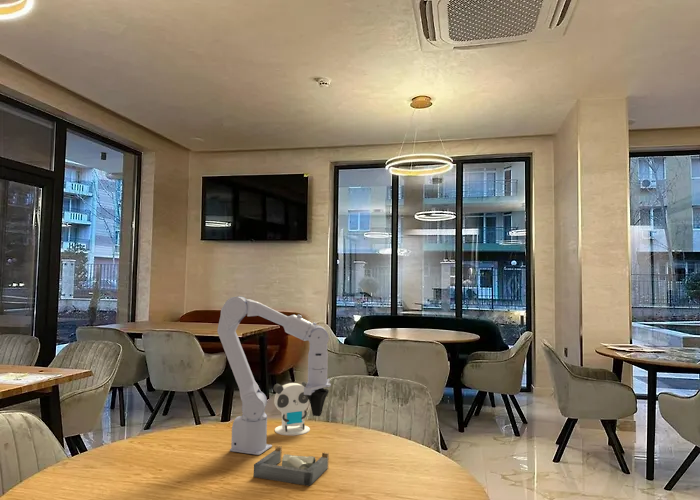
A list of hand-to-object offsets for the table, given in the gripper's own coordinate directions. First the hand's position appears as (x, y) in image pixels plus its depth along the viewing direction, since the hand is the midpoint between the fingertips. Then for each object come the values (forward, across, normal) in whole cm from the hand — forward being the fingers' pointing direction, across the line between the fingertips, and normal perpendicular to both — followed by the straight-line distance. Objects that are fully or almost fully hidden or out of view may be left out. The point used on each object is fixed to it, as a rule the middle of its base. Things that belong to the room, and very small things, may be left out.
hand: (316, 415), depth 141 cm
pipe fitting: (+10, -18, -3) cm, 21 cm away
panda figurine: (+10, +14, +15) cm, 22 cm away
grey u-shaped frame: (+9, -18, -2) cm, 21 cm away
